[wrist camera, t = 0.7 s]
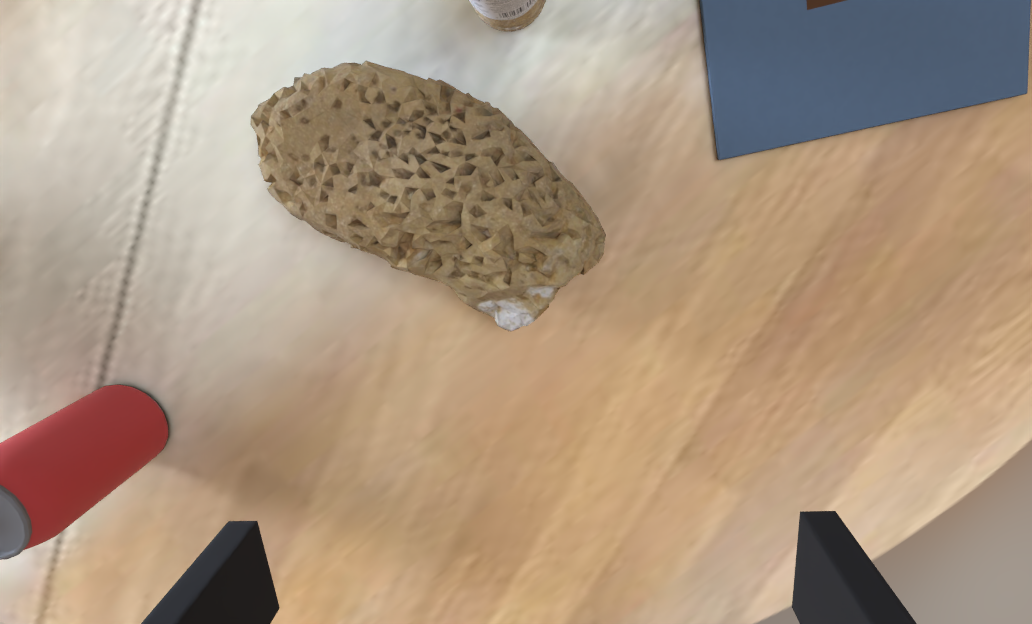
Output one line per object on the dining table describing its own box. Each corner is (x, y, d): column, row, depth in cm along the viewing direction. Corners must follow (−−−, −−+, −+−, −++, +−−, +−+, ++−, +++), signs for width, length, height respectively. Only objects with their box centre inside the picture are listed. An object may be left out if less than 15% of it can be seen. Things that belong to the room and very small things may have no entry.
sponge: (616, 202, 37) (365, -41, 30) (630, 259, 30) (314, -35, 24) (485, 319, 43) (249, 138, 36) (473, 388, 36) (182, 182, 29)
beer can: (83, 378, 43) (-91, 467, 31) (165, 383, 42) (19, 475, 31) (100, 454, 45) (-58, 564, 33) (179, 459, 44) (47, 572, 33)
